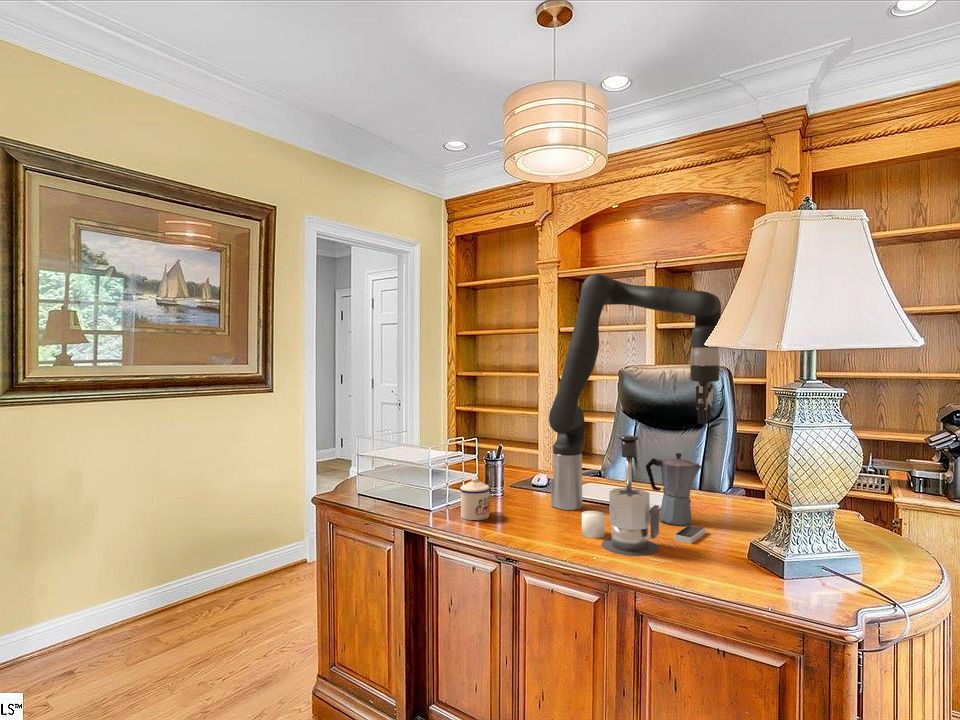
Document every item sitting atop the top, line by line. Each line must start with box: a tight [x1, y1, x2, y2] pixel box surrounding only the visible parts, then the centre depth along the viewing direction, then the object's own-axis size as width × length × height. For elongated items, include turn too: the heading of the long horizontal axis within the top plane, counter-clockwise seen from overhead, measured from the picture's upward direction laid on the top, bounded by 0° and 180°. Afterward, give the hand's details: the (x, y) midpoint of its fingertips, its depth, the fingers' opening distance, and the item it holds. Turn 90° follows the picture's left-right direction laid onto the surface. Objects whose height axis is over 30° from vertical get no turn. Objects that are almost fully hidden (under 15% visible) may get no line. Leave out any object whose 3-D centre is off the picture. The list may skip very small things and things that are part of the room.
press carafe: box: [608, 487, 660, 552], centre depth 135 cm, size 11×9×14 cm
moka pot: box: [645, 452, 703, 526], centre depth 157 cm, size 10×15×20 cm, turn 78°
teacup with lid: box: [459, 477, 491, 521], centre depth 165 cm, size 12×9×12 cm
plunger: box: [618, 435, 639, 493], centre depth 136 cm, size 5×5×14 cm
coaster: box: [600, 537, 660, 557], centre depth 136 cm, size 14×14×1 cm
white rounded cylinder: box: [581, 510, 606, 539], centre depth 145 cm, size 6×6×6 cm
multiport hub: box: [674, 524, 706, 545], centre depth 142 cm, size 4×11×2 cm, turn 139°
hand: (704, 422), depth 150 cm, fingers open, 8 cm apart
